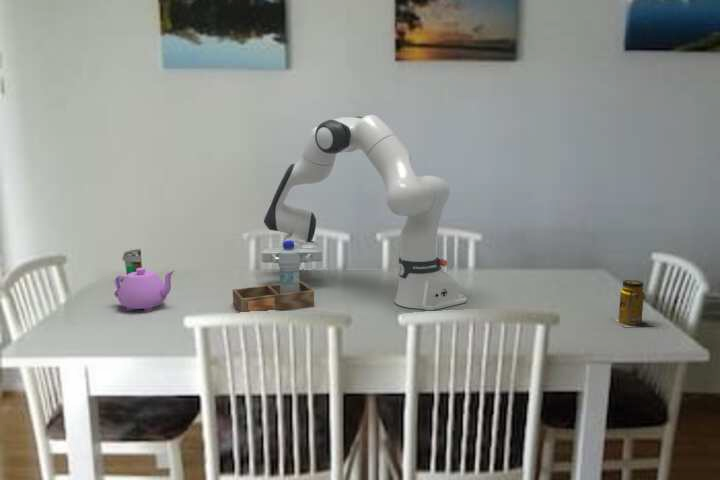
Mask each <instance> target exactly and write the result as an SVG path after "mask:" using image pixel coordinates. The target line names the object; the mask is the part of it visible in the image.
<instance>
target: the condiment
mask: <svg viewBox="0 0 720 480" xmlns="http://www.w3.org/2000/svg"><path fill="white" fill-rule="evenodd" d="M643 286H644V283H643V281H640V280H635V279H625V280H623V281H622V287H621V288H622V289H621V290H620V296H619V297H620V298H619V309H618V318H613V321H615V322H616V323H618V324H619V325H620V326H623V327H624V328H638V327H639V328H640V327H654V324H652V323H650V322H648V321H647V320H645V319H643V311H644V309H643V308H644V300H645V299H644V298H645V297H644V296H645V293H644V287H643Z"/></svg>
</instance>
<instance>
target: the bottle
mask: <svg viewBox="0 0 720 480" xmlns="http://www.w3.org/2000/svg"><path fill="white" fill-rule="evenodd" d="M283 248H284V249H282V250H281V251H279V259H278V263H277V264H278V267H279V284H280V294H284V293H293V292H300V286H299V282H300V266H301V263H300V257H299V251H298V250H296V249H294V242H293V241H285V242H284V243H283Z"/></svg>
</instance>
